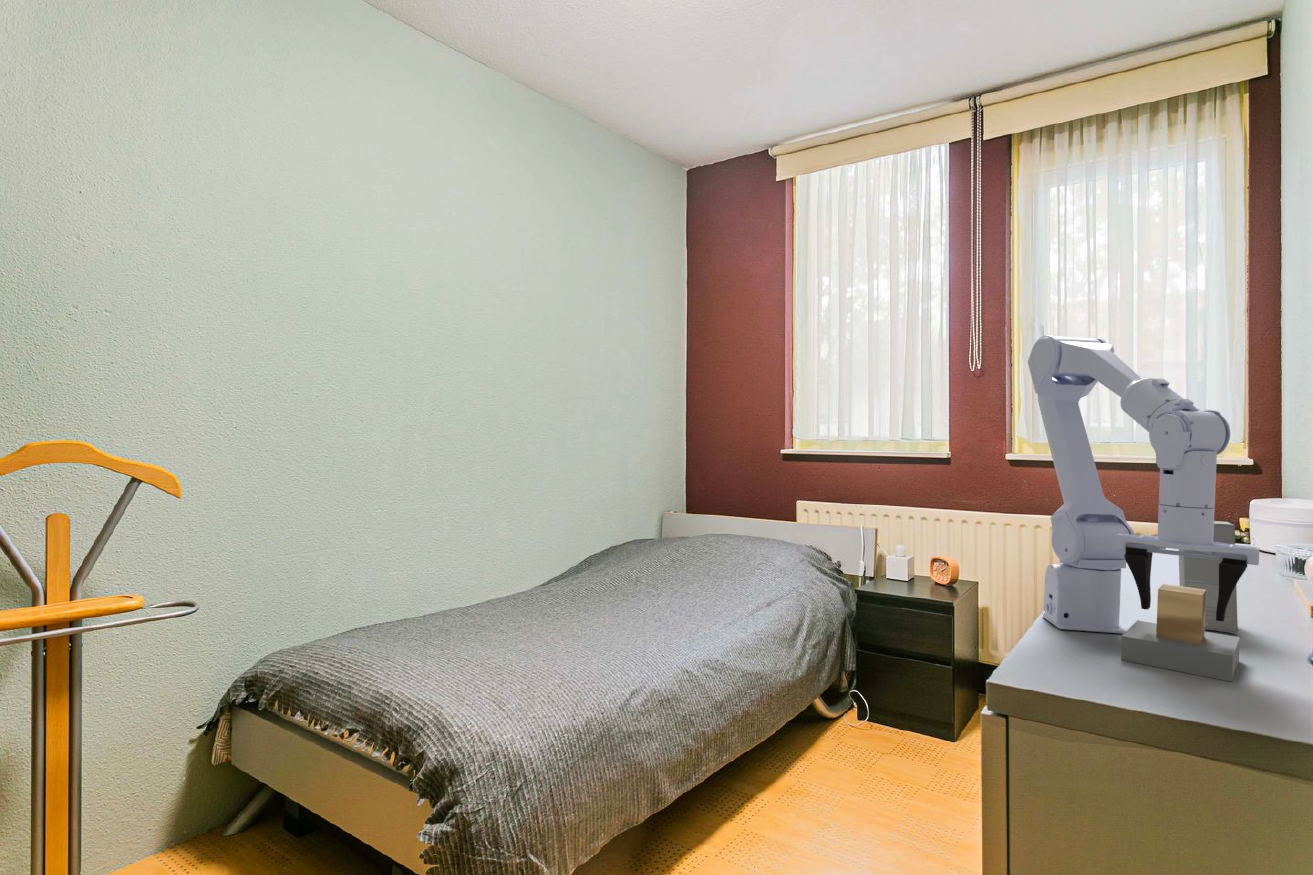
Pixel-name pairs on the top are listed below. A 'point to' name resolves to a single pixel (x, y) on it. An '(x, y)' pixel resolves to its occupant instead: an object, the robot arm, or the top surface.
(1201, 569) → the skincare box
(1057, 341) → the robot arm
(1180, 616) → the oak block
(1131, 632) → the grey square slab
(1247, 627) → the top surface
